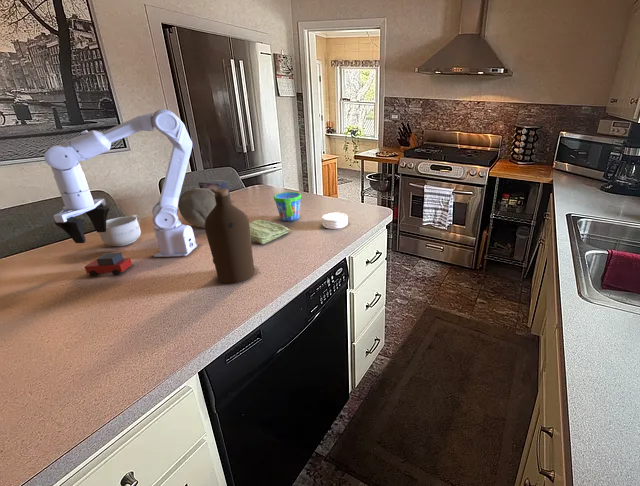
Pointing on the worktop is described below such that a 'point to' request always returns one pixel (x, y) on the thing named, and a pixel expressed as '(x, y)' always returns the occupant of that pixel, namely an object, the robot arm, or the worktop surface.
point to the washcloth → (266, 231)
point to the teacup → (121, 230)
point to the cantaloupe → (197, 205)
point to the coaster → (334, 220)
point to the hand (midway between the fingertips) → (91, 237)
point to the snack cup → (288, 205)
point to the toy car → (108, 264)
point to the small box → (214, 185)
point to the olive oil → (229, 240)
